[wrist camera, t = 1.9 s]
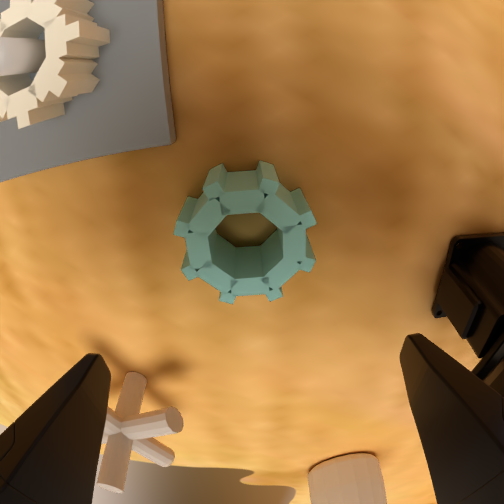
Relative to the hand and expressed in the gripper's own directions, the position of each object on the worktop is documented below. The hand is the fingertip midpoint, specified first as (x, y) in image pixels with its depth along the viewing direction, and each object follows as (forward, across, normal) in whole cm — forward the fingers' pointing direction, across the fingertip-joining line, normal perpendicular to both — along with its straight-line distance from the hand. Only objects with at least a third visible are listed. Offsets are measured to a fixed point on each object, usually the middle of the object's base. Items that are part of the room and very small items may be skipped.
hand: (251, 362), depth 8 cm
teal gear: (+9, 0, 0) cm, 9 cm away
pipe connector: (+10, +10, +13) cm, 19 cm away
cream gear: (+8, +9, -10) cm, 16 cm away
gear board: (+9, +9, -14) cm, 19 cm away
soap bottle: (+10, -10, +36) cm, 39 cm away
